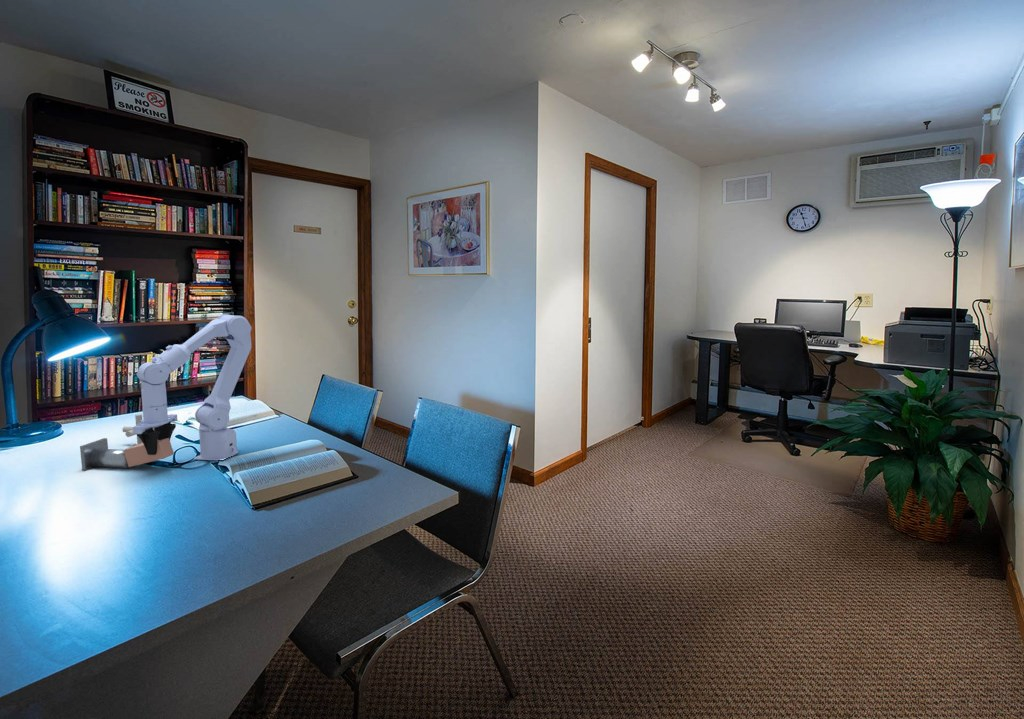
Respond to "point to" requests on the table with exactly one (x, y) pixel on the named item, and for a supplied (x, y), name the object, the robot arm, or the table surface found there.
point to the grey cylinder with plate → (101, 455)
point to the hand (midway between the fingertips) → (158, 451)
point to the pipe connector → (130, 429)
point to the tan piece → (140, 455)
